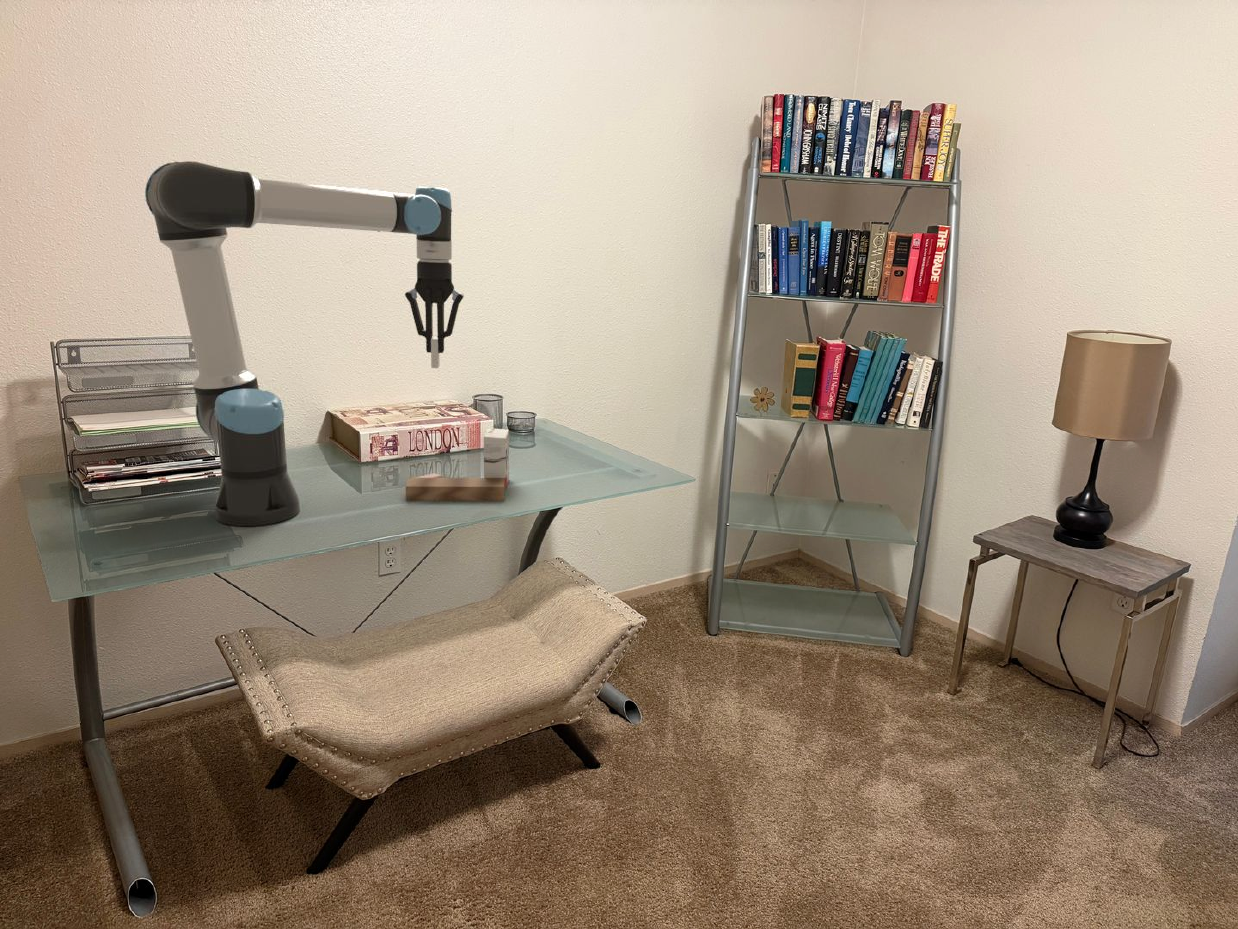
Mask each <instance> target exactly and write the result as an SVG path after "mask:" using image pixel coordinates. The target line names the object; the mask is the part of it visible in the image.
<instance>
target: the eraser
mask: <svg viewBox="0 0 1238 929" xmlns="http://www.w3.org/2000/svg"><path fill="white" fill-rule="evenodd" d="M415 478H442V475H441V474H439V473H435V472H433V473H429V474H425V475H421V476H416V477H415Z"/></svg>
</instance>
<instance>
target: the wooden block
mask: <svg viewBox="0 0 1238 929" xmlns="http://www.w3.org/2000/svg"><path fill="white" fill-rule="evenodd" d="M404 487H405V501H505V491H506V490H505V478H484V477H441V478H416V477H409V478H408V480H407V482H406V484H405V486H404Z"/></svg>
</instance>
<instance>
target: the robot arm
mask: <svg viewBox="0 0 1238 929" xmlns="http://www.w3.org/2000/svg"><path fill="white" fill-rule="evenodd" d="M144 191H145V193H144V194H145V196H144V197H145V201H146V205H147V207H148V209H149V211H150V212H151V214H152V215H153V217H154V221H155V222H154V223H155V225H156V229H157V233H158V237H159V238H158V239H159V242H160V243H161V244H163V245H164V246H166V247H167V248H169V250H170V251H171V255H172V259H173V263H174V264H173V265H174V268H175V272H176V277H177V280H178V281H177V282H178V285H179V290H180V295H181V299H182V303H183V306H184V307H183V308H184V312H185V317H186V321H187V325H188V329H189V330H188V331H189V333H190V339H191V343H192V347H193V352H194V355H195V360H196V365H197V370H198V376H197V378H196V379H195V381H194V382H193V383H192V385H193V390H194V394H195V399H196V403H195V404H196V405H195V416H196V417H195V418H196V421H197V423H198V425H199V427H200V428H201V430H202V431H203V433H204V434H206V435H207V436H208V437H209V438H210V439H212V440H213V441H214V442H215V443H216V444H217V445H218V451H219V461H220V463H219V464H220V471H221V473H220V474H221V480H220V484H219V488H218V492H217V496H216V500H215V504H214V512H215V520H217V521H218V522H219V523H221V524H225V525H229V526H234V527H235V526H236V527H252V526H253V527H255V526H265V525H272V524H276V523H280V522H283V521H287V520H289V519H291V518H293V517H295V516H296V515H298V514H299V513H300V511H301V510H300V509H301V508H300V499H299V496H298V493H297V491H296V489H295V487H294V484H293V482H292V480H291V477H290V475H289V473H288V472H289V471H288V464H287V463H288V462H287V461H288V460H287V450H286V449H287V448H286V438H285V436H286V435H285V422H284V420H285V419H284V418H285V411H284V409H283V405H282V400H281V399H280V397H279V396H278V395H277V394H275V393H273V392H271V391H270V390H269V391H268V390H262V389H261V388H259V384H258V383H259V382H258V379H257V375H256V373H254V372H253V371H251V370H250V369H248V368H247V366H246V361H245V357H244V356H245V354H244V351H243V346H242V341H241V337H240V332H239V327H238V323H237V318H236V317H237V316H236V312H235V307H234V302H233V297H232V293H231V289H230V283H229V280H228V279H229V278H228V273H227V268H226V265H225V259H224V254H223V250H222V244H224V242H225V240H226V239H227V238H228V231H227V228H229V229H230V228H241V229H242V228H243V229H253V227H254V226H255V225H256V224H269V225H282V226H283V225H284V226H285V225H287V226H299V227H311V228H313V227H314V228H327V229H329V228H330V229H344V230H354V231H355V230H356V231H369V232H370V231H372V232H373V231H374V232H378V233H379V232H386V233H395V234H398V233H399V234H410V235H411V234H412V235H416V237H415V238H416V258H417V259H418V260H419V261H417V262H416V283H415V285H414V287H413V289H411V290H409V291H407V292H405V293H404V296H405V298H406V299H407V301H408V303H409V305H410V310H411V313H412V316H413V320H414V324H415V328H416V332H417V335H419V336H422V337H423V338H425V343H426V344H425V346H426V347H425V350H426V353H430V359H431V360H430V364H431V365H430V366H431V369H439V368H440V354H443V353H444V351H445V338H447V337H450V336H452V335H453V331H454V327H455V322H456V318H457V315H458V311H459V306H460V304H461V302H462V300H463V299H464V297H465V295H464V293H460V292H459V291H457V290H456V289H455V285H454V284H453V280H452V279H453V277H452V276H453V275H452V274H453V273H452V271H453V269H452V267H453V266H452V263H451V262H450V260H452V255H453V254H452V252H453V251H452V247H453V246H452V245H453V244H452V242H453V241H452V212H453V209H452V208H453V207H452V198H451V197H452V196H451V191H450V190H449V189H448V188H444V187H429V186H418V187H416V189H415V194H410V193H399V192H388V191H381V190H380V191H379V190H372V189H371V190H369V189H360V188H351V187H340V186H339V187H338V186H329V185H321V184H312V183H311V184H310V183H302V182H301V183H300V182H292V181H291V182H290V181H280V180H279V181H278V180H273V179H272V180H269V179H261V178H255V176H254V175H253V174H252V173H251V172H249V171H239V170H235V169H234V170H233V169H228V168H223V167H219V166H214V165H210V164H207V163H203V162H199V161H191V160H190V161H189V160H188V161H187V160H186V161H180V162H179V161H173V162H168V163H165V164H162V165H161V166H159V167H158V168H156V169H155V170H154V171H153V172H152V173H151V175H150V177H149V178H148V179H147V182H146V184H145V190H144ZM418 295H419V296H420V299H422V301H424V307H425V309H424V310H425V328H424V324H423V320H422V315H421V311H420V308H419V305H418V300H417V298H418ZM451 295H452V297H451V299H452V301H453V302H452V305H451V309H450V314H449V318H448V323H447V326H446V329H445V303H446V302H447V301H448V299H449V297H450V296H451ZM434 304H436V312H437V313H436V314H437V316H436V318H437V319H436V321H437V322H436V323H437V329H436V331H437V336H436V337H433V336H434V334H433V333H434V332H433V330H434V328H433V325H434V324H433V321H434V320H433V306H434Z"/></svg>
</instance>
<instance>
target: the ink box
mask: <svg viewBox="0 0 1238 929" xmlns="http://www.w3.org/2000/svg"><path fill="white" fill-rule="evenodd" d="M509 432H510V430H509V429H503V428H487V429H486V430H485V433H484V434H483V478H505V491H506V489H507V485H508V483H509V479H510V447H509V446H510V443H509V442H510V441H509V440H510V438H509V436H510V435H509V434H510V433H509Z"/></svg>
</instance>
